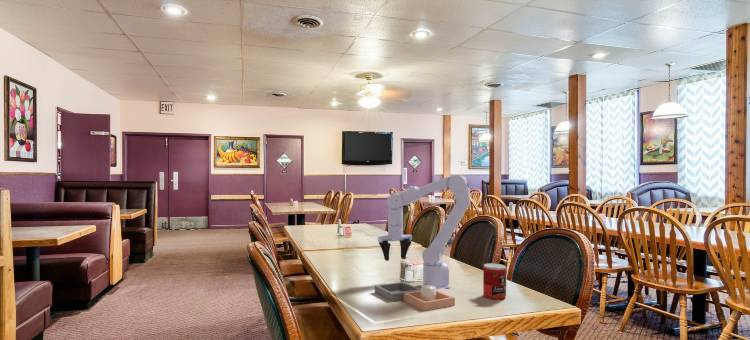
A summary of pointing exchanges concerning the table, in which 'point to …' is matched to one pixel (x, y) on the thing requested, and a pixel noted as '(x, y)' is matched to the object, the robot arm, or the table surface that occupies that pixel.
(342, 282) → the table surface
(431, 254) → the robot arm
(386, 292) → the bin
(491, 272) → the canned food
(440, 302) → the dump bin
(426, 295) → the white rounded cylinder
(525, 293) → the table surface
